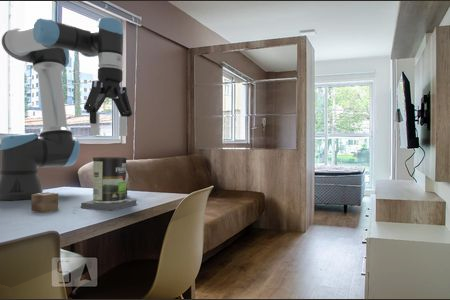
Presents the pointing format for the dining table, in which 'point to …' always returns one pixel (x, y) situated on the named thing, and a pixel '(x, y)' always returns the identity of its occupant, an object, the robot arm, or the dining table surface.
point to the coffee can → (109, 179)
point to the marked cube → (44, 202)
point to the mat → (108, 205)
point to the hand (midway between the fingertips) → (109, 135)
